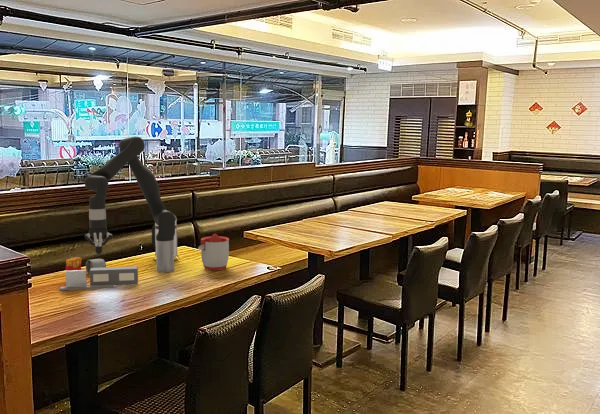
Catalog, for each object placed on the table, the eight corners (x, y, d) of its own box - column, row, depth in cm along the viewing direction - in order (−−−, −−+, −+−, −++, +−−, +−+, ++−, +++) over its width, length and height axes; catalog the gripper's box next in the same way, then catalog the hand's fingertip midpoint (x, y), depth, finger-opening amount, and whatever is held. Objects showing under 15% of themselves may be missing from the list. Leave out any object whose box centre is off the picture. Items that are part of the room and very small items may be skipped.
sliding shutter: (86, 285, 258) (86, 269, 256) (86, 286, 256) (85, 270, 255) (66, 286, 256) (65, 270, 254) (66, 287, 254) (65, 271, 253)
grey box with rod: (138, 281, 270) (137, 266, 269) (136, 287, 261) (136, 271, 260) (63, 284, 262) (63, 269, 261) (59, 290, 253) (58, 274, 252)
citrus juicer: (193, 267, 299) (193, 232, 296) (221, 263, 309) (221, 229, 306) (204, 274, 286) (204, 237, 284) (234, 270, 296) (234, 234, 293)
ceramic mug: (107, 272, 286) (106, 258, 285) (93, 275, 280) (92, 261, 279) (96, 269, 292) (95, 255, 291) (82, 272, 286) (81, 258, 285)
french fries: (70, 284, 264) (69, 260, 262) (64, 282, 266) (63, 259, 264) (84, 280, 271) (83, 256, 270) (78, 278, 273) (77, 255, 271)
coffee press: (181, 256, 324) (180, 207, 320) (177, 263, 308) (176, 211, 304) (152, 256, 323) (151, 207, 319) (146, 263, 307) (145, 211, 303)
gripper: (113, 216, 258) (114, 251, 261) (84, 216, 255) (85, 252, 258) (111, 219, 251) (112, 255, 253) (81, 219, 248) (82, 256, 251)
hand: (99, 253), depth 256 cm, fingers closed
